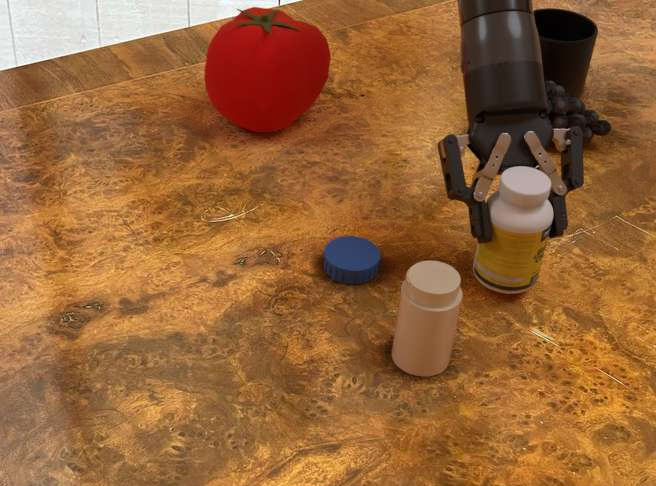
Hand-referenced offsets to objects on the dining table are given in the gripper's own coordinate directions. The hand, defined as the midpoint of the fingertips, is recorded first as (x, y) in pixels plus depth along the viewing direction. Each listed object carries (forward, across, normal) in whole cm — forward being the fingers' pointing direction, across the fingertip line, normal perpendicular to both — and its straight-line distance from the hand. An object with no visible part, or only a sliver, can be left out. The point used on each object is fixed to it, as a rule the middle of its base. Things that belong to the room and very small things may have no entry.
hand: (520, 239), depth 102 cm
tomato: (-20, -18, +31) cm, 41 cm away
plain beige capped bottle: (+10, -11, -1) cm, 15 cm away
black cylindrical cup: (-23, +19, +33) cm, 45 cm away
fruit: (-14, +14, +24) cm, 31 cm away
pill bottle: (+3, 0, +5) cm, 6 cm away
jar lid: (-1, -15, +8) cm, 17 cm away
